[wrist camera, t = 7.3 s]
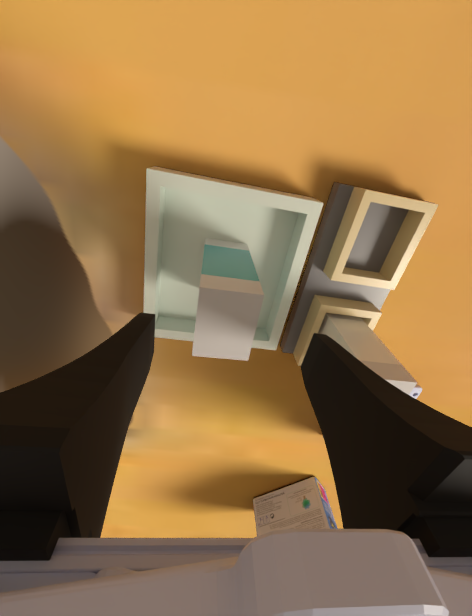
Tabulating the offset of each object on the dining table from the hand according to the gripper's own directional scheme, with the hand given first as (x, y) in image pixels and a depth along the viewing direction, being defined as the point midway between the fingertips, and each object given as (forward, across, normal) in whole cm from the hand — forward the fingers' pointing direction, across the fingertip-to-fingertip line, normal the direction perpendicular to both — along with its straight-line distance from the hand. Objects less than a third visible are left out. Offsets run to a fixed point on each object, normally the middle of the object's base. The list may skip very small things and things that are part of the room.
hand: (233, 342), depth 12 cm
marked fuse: (+9, 0, 0) cm, 9 cm away
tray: (+10, 0, 0) cm, 10 cm away
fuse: (+9, -10, +4) cm, 14 cm away
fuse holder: (+10, -10, 0) cm, 14 cm away
